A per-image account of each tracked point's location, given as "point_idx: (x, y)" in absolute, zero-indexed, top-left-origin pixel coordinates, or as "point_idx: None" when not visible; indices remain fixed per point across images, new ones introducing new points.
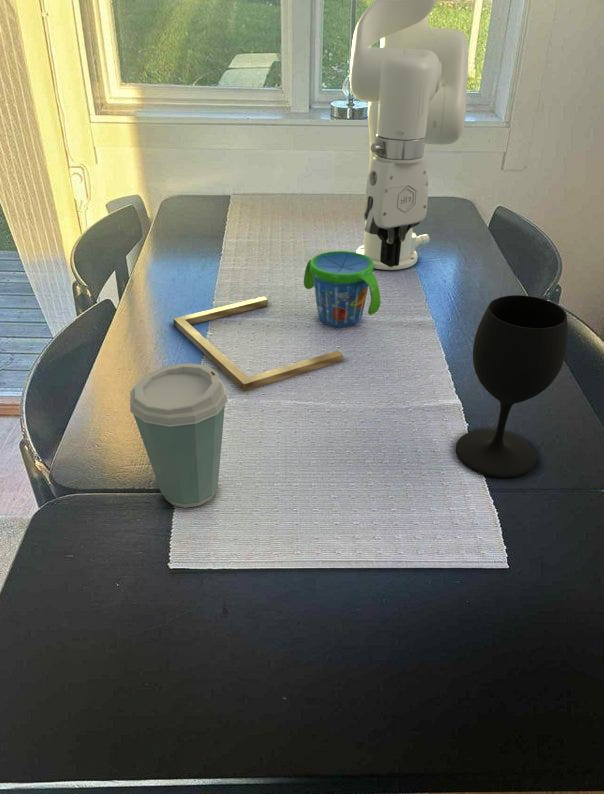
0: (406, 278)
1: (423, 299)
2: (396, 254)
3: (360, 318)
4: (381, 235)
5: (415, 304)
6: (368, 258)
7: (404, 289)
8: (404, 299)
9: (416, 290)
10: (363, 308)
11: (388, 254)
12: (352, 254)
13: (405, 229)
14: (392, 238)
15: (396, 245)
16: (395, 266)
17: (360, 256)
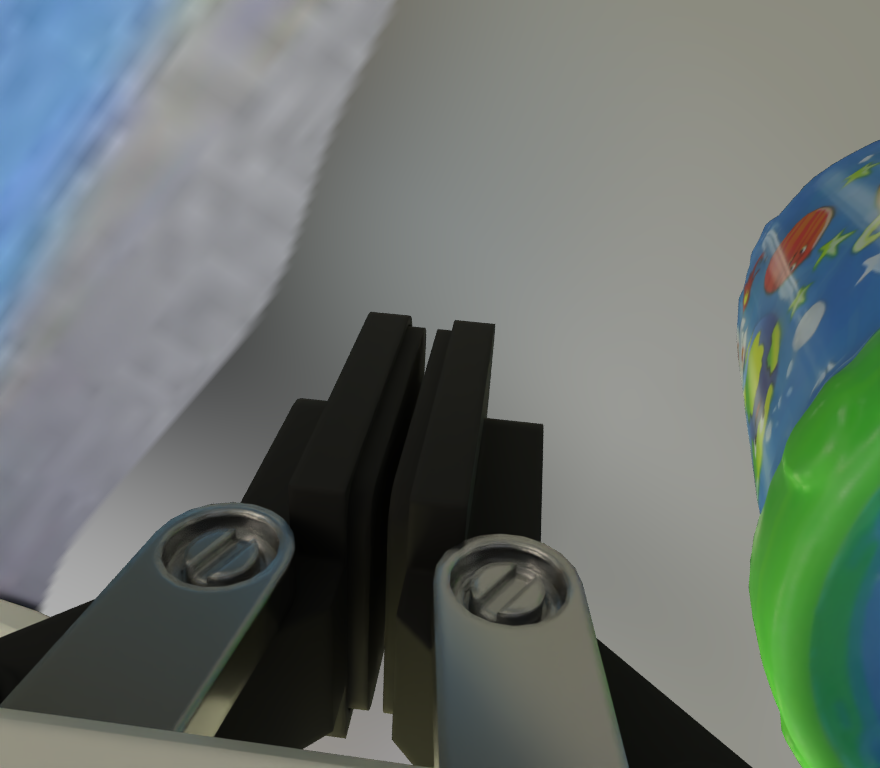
0: (28, 495)
1: (101, 176)
2: (399, 394)
3: (865, 148)
4: (724, 759)
5: (214, 144)
6: (852, 524)
7: (138, 384)
8: (238, 263)
9: (65, 324)
10: (877, 163)
11: (499, 462)
12: (853, 723)
13: (85, 667)
14: (452, 614)
15: (377, 490)
16: (24, 626)
17: (836, 635)
